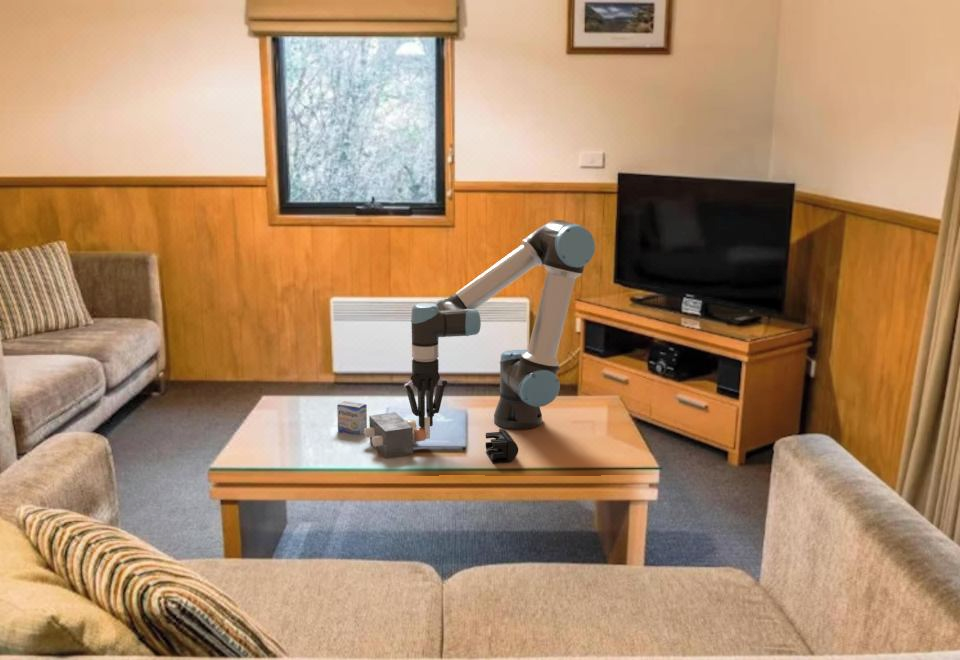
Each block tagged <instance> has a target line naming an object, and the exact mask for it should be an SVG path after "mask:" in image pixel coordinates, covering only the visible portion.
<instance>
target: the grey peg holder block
mask: <svg viewBox="0 0 960 660" xmlns="http://www.w3.org/2000/svg"><path fill="white" fill-rule="evenodd" d="M368 417H369V419H368V421H369V428H370V427H374V428H375V436H380V435H382V436H383V445H381V446H374V447H375V449H376V450H377V451H378V452H379V453H380V454H381V455H382V456H383V457H384V458H385V459H392V458H397V457H404V456H410V455H414V445H413V444H414V441H413V427H412V426H410V425H409V424H408V423H407V422H406V421H407V420H405V419H404V418H403V417H401V416H400V414H398V413H397V412H393V411H392V412H386V413H381V414H373V415H372V414H371V415H369V416H368ZM369 442H370V443H371V445H373V443H372V437H369Z"/></svg>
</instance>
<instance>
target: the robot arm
mask: <svg viewBox="0 0 960 660" xmlns="http://www.w3.org/2000/svg"><path fill="white" fill-rule="evenodd" d="M595 250H596V243H595V239H594V236H593V235H592V233H591V232H590V230H588V229H587V228H586V227H584V226H582V225H581V224H578V223H573V222H569V221H567V220H566V221H565V220H563V219H562V220H561V219H560V220H559V219H557V220H552V221H549V222H547V223H545V224H543V225H542V226H540V227H539V228H537V229H536V230H535V231H533V232H532V233H530V234H529V235H527V236H526V237H525V238H524V239H522V240H521V245H519V246H518V247H517V248H515V249H514V250H512V251H511V252H509V253H508V254H507V255H506V256H505V257H503V258H502V259H500V260H499V261H497V262H496V263H495V264H494V265H492V266H491V267H489V268H488V269H486V270H485V271H484V272H483V273H481V274H479V275H478V276H477V277H476V278H474V279H472V281H469V283H468V284H466V285H465V286H463V287H462V288H461V289H459V290H458V291H457V292H455V293H453V294H452V295H450V296H449V297H448V298H441V299H439V300H437V301H436V302H435V303H431V302H430V303H428V302H427V303H426V302H423V303H417V304H416V303H415V305H413V306H412V309H411V320H410V323H411V357H412V360H411V376H410V379H409V381H408V382H407V383H406V382H404V383H403V385H402V386H403V388H404V389H405V391H406V394H407V397H408V402H409V406H410V409H411V413H412V414H413V415H414V416H416V417H418V426H419V428H424V429H425V432H426V439H425V440H428V439H430V438H431V427H432V426H433V424H434V423H433V422H434V416H435V414H439V412H440V408H441V403H442V400H443V395H444V392H445V391H444V390H445V389H446V386H447V385H448V380H446V379H444V378H442V377H441V375H440V373H439V369H440V368H439V359H438V358H439V340H440V339H439V338H452V337H469V336H477V335H478V334H479V333H480V330H481V323H482V321H481V315H480V312H479V311H478V310H477V309H478V308H479V307H481V306H482V305H484V304H485V303H486V302H487V301H489V300H490V299H492V298H493V297H495V296H496V295H498V294H499V293H500V292H501V291H503V290H504V289H505V288H507V287H509V285H511V284H513V283H514V282H515V281H516V280H518V279H520V278H521V277H522V276H524V275H525V274H526V273H528V272H530V270H532V269H533V268H535V267H536V266H538V267H542V266H543V267H544V268H545V270H546V275H545V278H544V283H543V287H542V291H541V295H540V299H539V303H538V308H537V311H536V315H535V320H534V325H533V329H532V330H531V331H532V332H531V334H530V335H531V336H530V340H529V344H528V348H527V349H511V350H505V351H503V352H502V353H501V354H500V361H499V366H500V367H499V373H500V374H499V382H500V383H499V399H498V402H497V405H496V408H495V410H494V411H495V412H494V413H493V414H494V415H493V423H494V424H495V425H497V426H498V427H501V428H503V429H508V430H530V429H534V428H537V427H540V426H541V425H542V424H543V414H542V410H541V408H542V407H546V406H547V405H549V404H551V403H552V402H554V400H555V399H556V398H557V396H558V395H559V392H560V390H561V389H560V388H561V384H560V380H559V377H558V372H559V369H560V362H559V361H558V358H557V355H558V351H559V346H560V343H561V340H562V339H561V338H562V336H563V335H562V334H563V330H564V328H565V327H564V326H565V323H566V318H567V316H568V311H569V307H570V303H571V299H572V296H573V291H574V287H575V283H576V280H577V278H579V277H581V275H583V272H584V270H585V269H584V268H585V267H586V265H587V264H588V263H590V261H591V260H592V258H594V257H593V256H595ZM414 386H415V388H416V389H417V390H416V392H417V400H416V396H415V393H414V390H413V389H414ZM435 386H436V389H435ZM434 390H436V391H434Z"/></svg>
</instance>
